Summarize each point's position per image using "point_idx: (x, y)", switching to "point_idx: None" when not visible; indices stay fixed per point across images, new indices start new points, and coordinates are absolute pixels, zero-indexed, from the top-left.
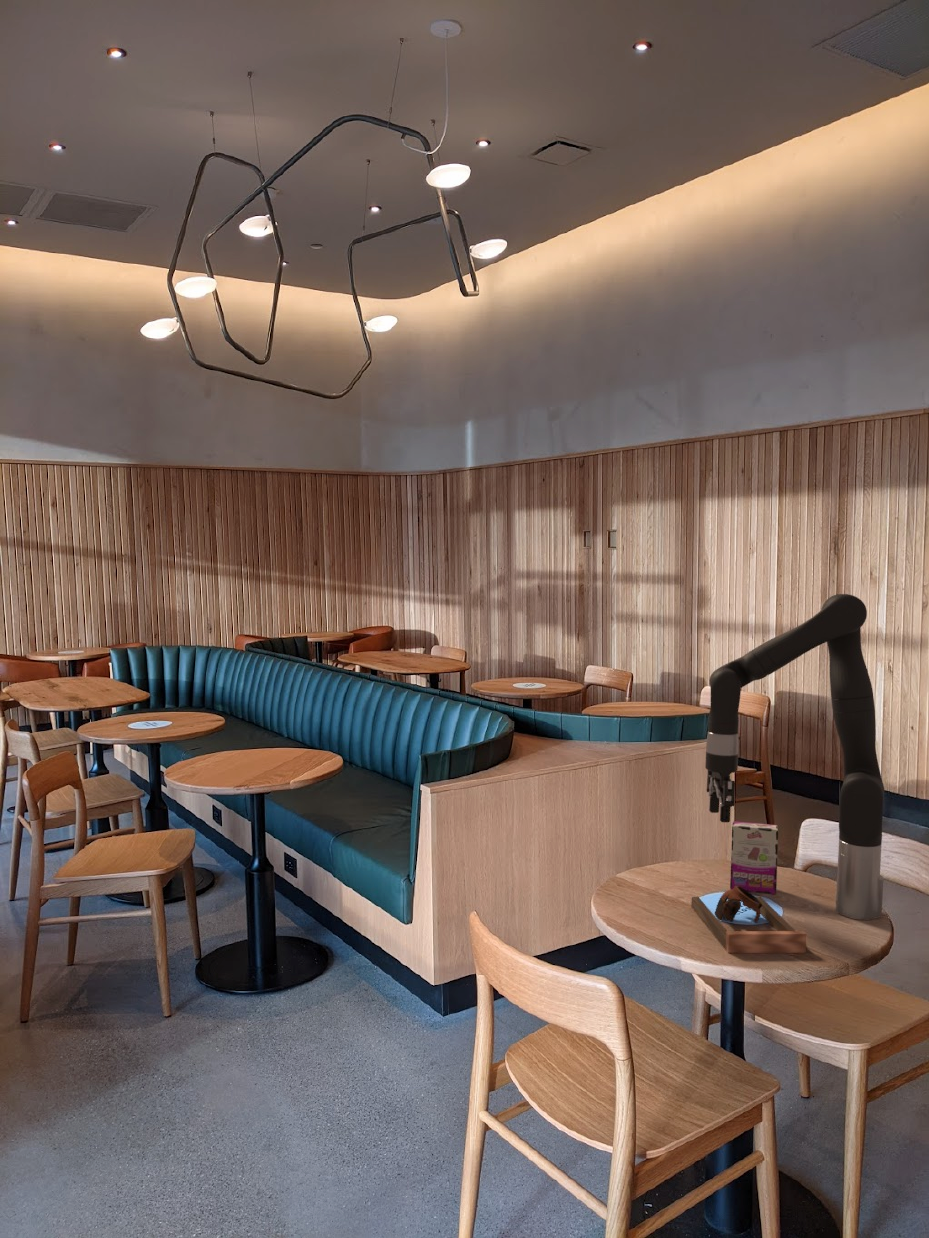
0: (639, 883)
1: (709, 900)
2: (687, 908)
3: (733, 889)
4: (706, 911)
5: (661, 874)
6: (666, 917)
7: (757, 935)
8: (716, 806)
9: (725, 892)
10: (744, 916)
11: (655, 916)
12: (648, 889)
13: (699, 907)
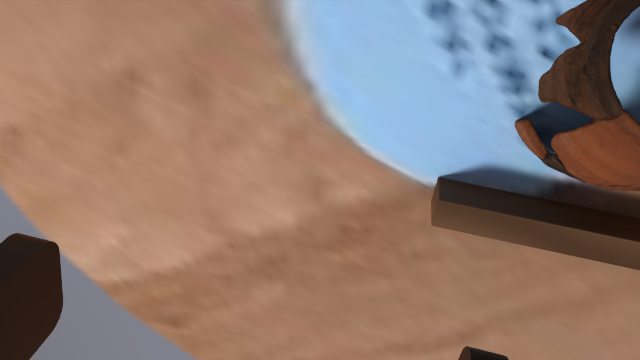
0: (158, 257)
1: (376, 90)
2: None
3: (637, 151)
4: (613, 253)
5: (52, 135)
6: (500, 325)
7: None
8: (10, 314)
9: (598, 173)
10: None
11: None
12: (222, 256)
13: (544, 246)
